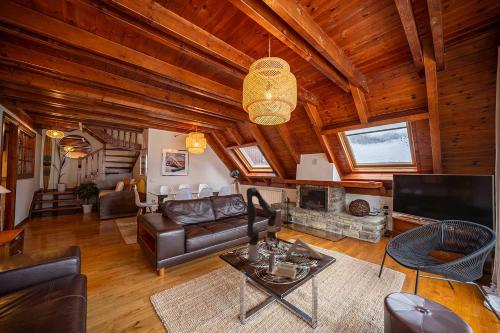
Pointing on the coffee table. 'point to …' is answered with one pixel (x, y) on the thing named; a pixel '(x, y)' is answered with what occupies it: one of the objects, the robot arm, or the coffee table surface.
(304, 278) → the coffee table surface
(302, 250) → the wall bracket
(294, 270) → the well board
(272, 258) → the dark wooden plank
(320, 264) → the coffee table surface
